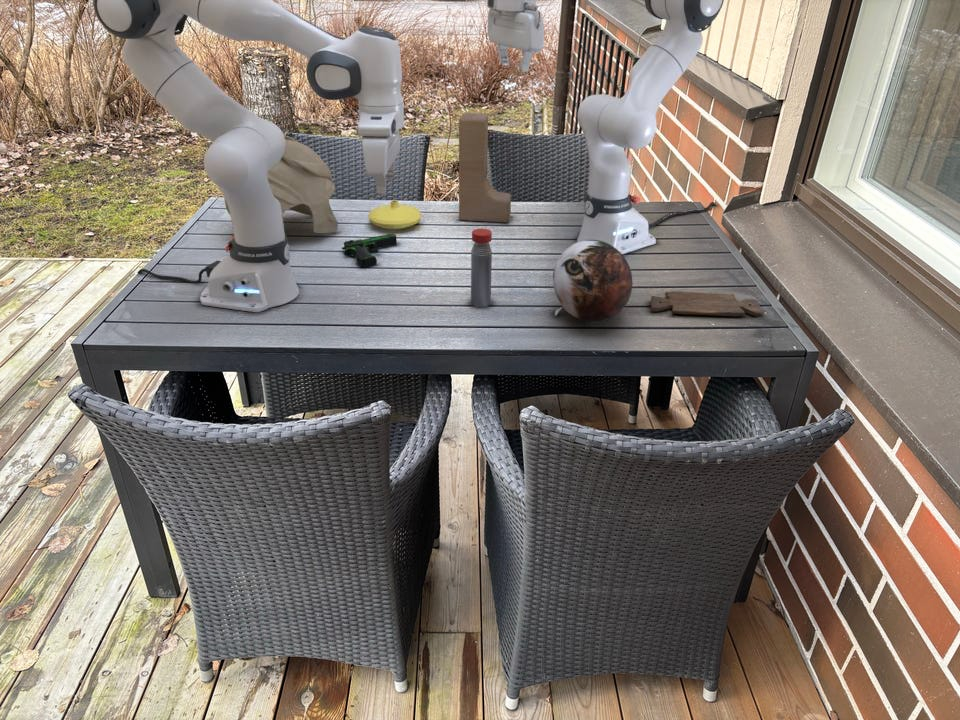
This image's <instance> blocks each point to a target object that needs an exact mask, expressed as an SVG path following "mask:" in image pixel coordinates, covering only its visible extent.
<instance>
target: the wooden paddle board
mask: <svg viewBox="0 0 960 720" xmlns="http://www.w3.org/2000/svg"><path fill="white" fill-rule="evenodd" d="M664 296H665V298H664V297H661V296H655V295H651V297H650V311H651V312H652V313H656V312H657V313H658V312H663V311H667V310H671V309H672V311H671V313H672V314H676V315H697V316H699V315H700V316H721V317H744V316H746V314H748V315H751V316H755V317H759V316H760V317H762V316H764V315H765V311H763V308H762V307H761V305H760V303H759V301H758V300H757V299H753V298H745V299H742V300H737V298H736V296H735V294H734V293H715V292H714V293H712V292H691V291H665V292H664Z"/></svg>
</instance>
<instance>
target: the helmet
mask: <svg viewBox="0 0 960 720" xmlns="http://www.w3.org/2000/svg"><path fill="white" fill-rule="evenodd" d="M284 137H285V141H286V148H285V151H284V154H283V156H282V158H281V160H280V162H279V163H278V164H277V165H276V166H275V167H274V168H272V169H271V170H270V171H268V182H269V186H270V188H271V191H272V193H273V195H274V197H275V198H276V199H277V200H278V201H279V202H280V204H281V210H282V216H283V215H284V214H285V213H286V212H287V211H288V210H290V211H293V212H296V213H299V214H303V215H305V216H309V217H311V219H312V232H313V233H317V234H328V233H329V234H330V233H337V232H338V225H339V222H338V220H337V219H336V216H335V214H334V212H333V208H332V207H331V204H330V199H331V198H332V196H333V195H334V193H335V191H336V190H335V189H336V185H335V183H334V180H333V176H332V173H331V169H330V167H329V165H327V164H326V163H325V161H324V160H323V159H322V157H321V156H320V155H319V154H318V153H317V152H316V151H314V149H312V148H311V147H310V146H308V145H306V144H304V143H301V142H299V141H298V140H296V139H294V138H293V137H291V136H289V135H285V134H284ZM223 200H224V204H225V209H226V211H227V213H228V214H229V215H230V211H229V208H228V205H227V202H226V200H225V197H224V196H223Z"/></svg>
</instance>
